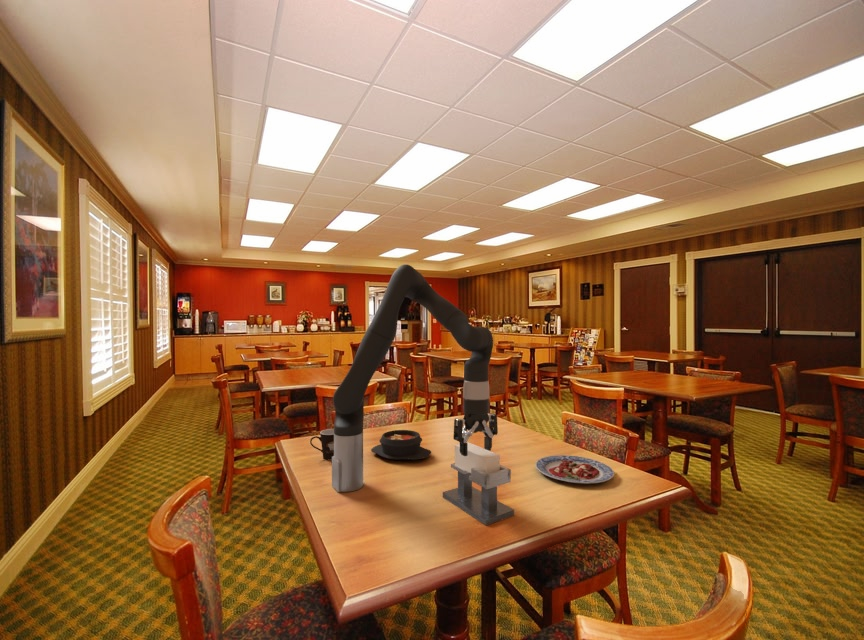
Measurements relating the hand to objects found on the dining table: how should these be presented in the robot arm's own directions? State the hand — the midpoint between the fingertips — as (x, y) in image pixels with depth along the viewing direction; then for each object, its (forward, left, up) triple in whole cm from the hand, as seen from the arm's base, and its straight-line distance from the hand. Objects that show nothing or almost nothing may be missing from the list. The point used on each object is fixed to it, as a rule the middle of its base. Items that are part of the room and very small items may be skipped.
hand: (476, 452), depth 113 cm
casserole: (+2, +50, -16) cm, 53 cm away
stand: (0, 0, -15) cm, 15 cm away
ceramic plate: (+44, +1, -16) cm, 47 cm away
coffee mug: (-23, +64, -15) cm, 70 cm away
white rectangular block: (0, 0, -5) cm, 5 cm away
